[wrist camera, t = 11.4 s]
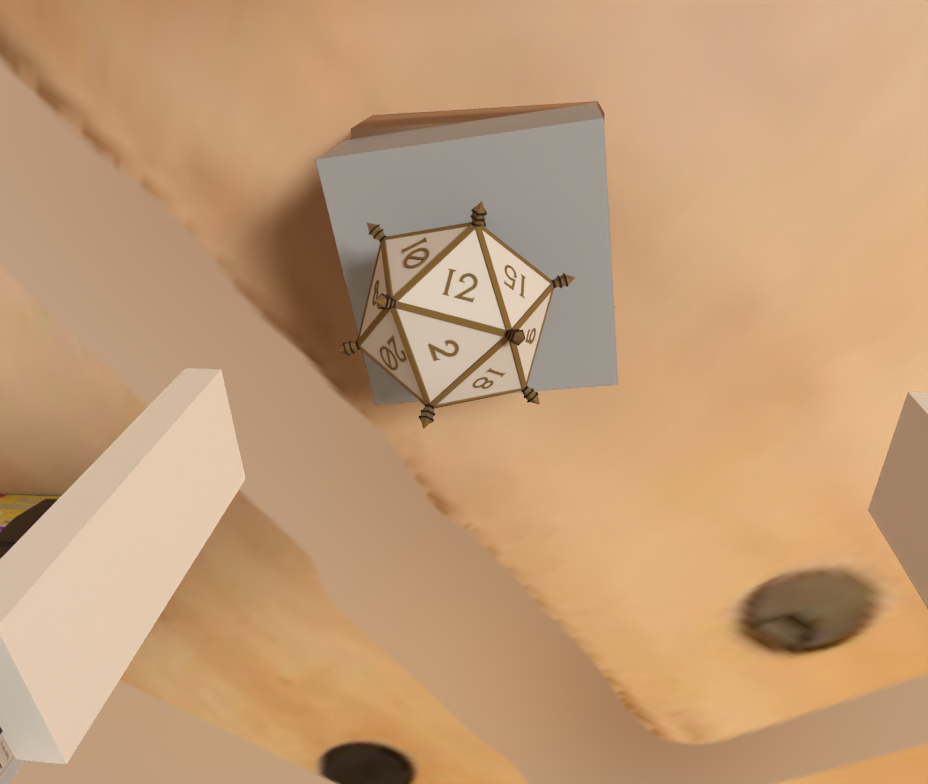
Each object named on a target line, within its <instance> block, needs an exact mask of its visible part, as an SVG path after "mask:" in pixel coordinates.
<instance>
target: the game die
mask: <svg viewBox="0 0 928 784" xmlns="http://www.w3.org/2000/svg"><path fill="white" fill-rule="evenodd" d="M471 211H472V215H470V217H471V218H472V222H469V223H463V224H457V225H451V226H445V227H440V228H434V229H428V230H422V231H416V232H410V233H405V234H399V235H393V236H385V234H384V232H383V229H381V228H380V227H379V226H380V225H379V224H378V225H375V224H371V223H367V226H368V230H369V233H368V234H369V235H372V236H373V238H374V239H377V240H379V241H380V246H379V250H378V254H377V258H376V263H375V267H374V271H373V275H372V280H371V284H370V288H369V292H368V296H367V301H366V305H365V309H364V313H363V318H362V322H361V326H360V330H359V334H358V339H357V341H356V342H352V341H349V343H346V342H345V343H343V345H342V346H341V347H340V348H339V350H338V351H337V352H341V353H344V354H347V355H348V356H349V354H350V353H353V354H354V353H355V351H356V350H358V349H361V350H362V351H363V352H364V353H365V354H366V355H367V356H369V357H370V358H371V359H372V360H373V361H374V362H375V363H377V364H378V365H379V366H380V367H381V368H382V369H384V370H385V371H386V372H387V373H388V374H389V375H390V376H392V377H393V378H394V379H395V380H396V381H397V382H398V383H400V384H401V385H402V386H403V387H404V388H405V389H407V390H408V391H409V392H410V393H411V394H412V395H413V396H415V397H416V398H417V399H418V400H419V401H420V402H421V403H423V404H424V405H425V408H424V409H423V410H421V416H419V418H420V420H421V422H422V426H423V429H424V428H425V427H426V426H427V425H428V424H429V423H431V422H433V421H434V419H433V416H434V415H435V413H434V408H438V407H443V406H448V405H453V404H458V403H463V402H468V401H473V400H478V399H483V398H488V397H493V396H498V395H503V394H508V393H513V392H518V391H521V392H523V394H524V398H526V399H527V400H528V401H527V402H532V403H537V404H540V403H539V399H538V393H537V392H535V391H534V389H533V388H532V389H531V388H530V387H528V386H527V384H528V380H529V377H530V373H531V370H532V366H533V362H534V359H535V355H536V352H537V348H538V344H539V341H540V337H541V334H542V330H543V326H544V323H545V319H546V316H547V312H548V308H549V305H550V301H551V298H552V294H553V290H554V288H556V287H560V288H563V286H566V287H567V286H568V285H569V284H570V283H571V282H572V281H573V279H574V278H575V277H572V276H569V275H565V274H564V273H563V275H561V276H559V275H557V277H556V278H555V279H554V280H551V279H550V278H548V277H547V276H546V275H545V274H543V273H542V272H541V271H540V270H538V269H537V268H536V267H535V266H533V265H532V264H531V263H529V262H528V261H527V260H526V259H524V258H523V257H522V256H521V255H519V254H518V253H517V252H516V251H514V250H513V249H512V248H510V247H509V246H508V245H507V244H505V243H504V242H503V241H502V240H500V239H499V238H498V237H497V236H495V235H494V234H493V233H491V232H490V231H489V230H488V229H486V228H485V227H486V223H485V218H484V217H485V215H487V212H486V210H485V209H484V206H483V203H482V201H481V202H480V203H479V204H478V205H477V206H475V207H474V208H473V209H472V210H471Z"/></svg>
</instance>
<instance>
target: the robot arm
mask: <svg viewBox="0 0 928 784" xmlns="http://www.w3.org/2000/svg"><path fill="white" fill-rule="evenodd" d="M244 480H245V474H244V470H243V465H242V461H241V456H240V452H239V447H238V443H237V438H236V434H235V430H234V425H233V420H232V416H231V411H230V407H229V402H228V398H227V394H226V389H225V384H224V380H223V376H222V371H221V369H193V368H186V369H184V370H183V371H182V372H181V373H180V374H179V375H178V376H177V377H176V378H175V379H174V381H172V382H171V384H170V385H169V386H168V387H167V388H166V389H165V390H164V391H163V392H162V393H161V394H160V395H159V396H158V397H157V398H156V399H155V400H154V401H153V402H152V403H151V404H150V405H149V406H148V407H147V408H146V409H145V410H144V411H143V412H142V413H141V414H140V415H139V417H138V418H137V419H136V420H135V421H134V422H133V423H132V424H131V425H130V426H129V427H128V428H127V429H126V430H125V431H124V432H123V433H122V434H121V435H120V436H119V437H118V438H117V439H116V440H115V441H114V442H113V443H112V444H111V445H110V446H109V447H108V448H107V450H106V451H105V452H104V453H103V454H102V455H101V456H100V457H99V458H98V459H97V460H96V461H95V462H94V463H93V464H92V465H91V466H90V467H89V468H88V469H87V470H86V471H85V472H84V473H83V474H82V475H81V476H80V477H79V478H78V479H77V480H76V482H75V483H74V484H73V485H72V486H71V487H70V488H69V489H68V490H67V491H66V492H65V493H64V494H63V495H62V496H61V497H60V498H59V499H44V500H43V501H41V502H39V503H38V504H36V505H34V506H33V507H31V508H30V509H28V510H26V511H25V512H23V513H21V514H20V515H18V516H16V517H15V518H14V519H13V520H12V521H11V522H10V523H9V524H7V525H6V526H5V527H4V528H3V529H2V530H1V531H0V734H2V735H3V737H4V739H5V741H6V742H7V744H8V746H9V748H10V749H11V751H12V753H13V755H14V757H15V758H16V759H18V760H29V761H39V762H49V763H59V764H67V763H68V761H69V759H70V758H71V756H72V755H73V753H74V751H75V750H76V748H77V747H78V745H79V743H80V742H81V740H82V739H83V737H84V735H85V734H86V732H87V731H88V729H89V727H90V726H91V724H92V723H93V721H94V720H95V718H96V716H97V715H98V713H99V712H100V710H101V708H102V707H103V705H104V704H105V702H106V700H107V699H108V697H109V695H110V694H111V692H112V691H113V689H114V688H115V686H116V684H117V683H118V681H119V680H120V678H121V676H122V675H123V673H124V672H125V670H126V669H127V667H128V665H129V664H130V662H131V661H132V659H133V657H134V656H135V654H136V653H137V651H138V649H139V648H140V646H141V645H142V643H143V641H144V640H145V638H146V637H147V635H148V633H149V632H150V630H151V629H152V627H153V625H154V624H155V622H156V621H157V619H158V618H159V616H160V614H161V613H162V611H163V610H164V608H165V606H166V605H167V603H168V602H169V600H170V598H171V597H172V595H173V594H174V592H175V590H176V589H177V587H178V586H179V584H180V582H181V581H182V579H183V578H184V576H185V574H186V573H187V571H188V570H189V568H190V567H191V565H192V563H193V562H194V560H195V559H196V557H197V555H198V554H199V552H200V551H201V549H202V547H203V546H204V544H205V543H206V541H207V539H208V538H209V536H210V535H211V533H212V531H213V530H214V528H215V527H216V525H217V524H218V522H219V520H220V519H221V517H222V516H223V514H224V512H225V511H226V509H227V508H228V506H229V504H230V503H231V501H232V500H233V498H234V496H235V495H236V493H237V492H238V490H239V488H240V487H241V485H242V484H243V482H244ZM868 511H869V512H870V514H871V516H872V517H873V519H874V521H875V522H876V524H877V526H878V527H879V529H880V531H881V532H882V534H883V536H884V537H885V539H886V541H887V542H888V544H889V545H890V547H891V549H892V550H893V552H894V554H895V555H896V557H897V559H898V560H899V562H900V564H901V565H902V567H903V569H904V570H905V572H906V574H907V575H908V577H909V579H910V580H911V582H912V584H913V585H914V587H915V588H916V590H917V592H918V593H919V595H920V597H921V598H922V600H923V602H924V603H925V605H926V607H927V608H928V393H925V392H908V394H907V397H906V400H905V403H904V406H903V409H902V412H901V414H900V417H899V420H898V423H897V426H896V429H895V432H894V435H893V438H892V441H891V444H890V447H889V450H888V453H887V456H886V459H885V462H884V465H883V467H882V470H881V473H880V476H879V479H878V482H877V485H876V488H875V491H874V494H873V497H872V500H871V503H870V506H869V509H868Z"/></svg>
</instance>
